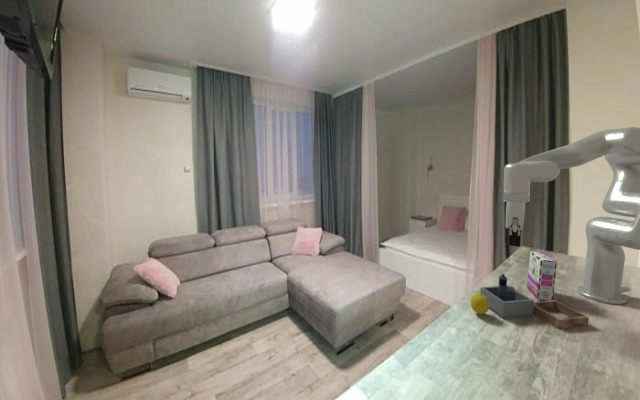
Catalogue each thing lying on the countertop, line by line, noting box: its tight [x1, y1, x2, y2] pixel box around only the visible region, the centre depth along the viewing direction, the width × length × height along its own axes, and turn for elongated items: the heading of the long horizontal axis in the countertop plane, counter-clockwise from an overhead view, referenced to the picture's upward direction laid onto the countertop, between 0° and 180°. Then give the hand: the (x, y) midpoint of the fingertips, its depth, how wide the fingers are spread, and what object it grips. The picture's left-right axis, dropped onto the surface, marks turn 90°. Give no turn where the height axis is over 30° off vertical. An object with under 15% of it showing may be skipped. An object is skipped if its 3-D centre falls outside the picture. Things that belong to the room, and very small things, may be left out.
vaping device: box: [497, 273, 516, 301], centre depth 89 cm, size 3×5×12 cm, turn 31°
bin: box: [479, 284, 535, 320], centre depth 89 cm, size 11×11×6 cm
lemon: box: [470, 293, 490, 316], centre depth 86 cm, size 6×6×8 cm
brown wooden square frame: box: [533, 299, 590, 330], centre depth 83 cm, size 11×11×3 cm
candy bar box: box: [526, 250, 558, 301], centre depth 97 cm, size 11×5×16 cm, turn 156°
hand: (514, 242), depth 90 cm, fingers open, 9 cm apart
